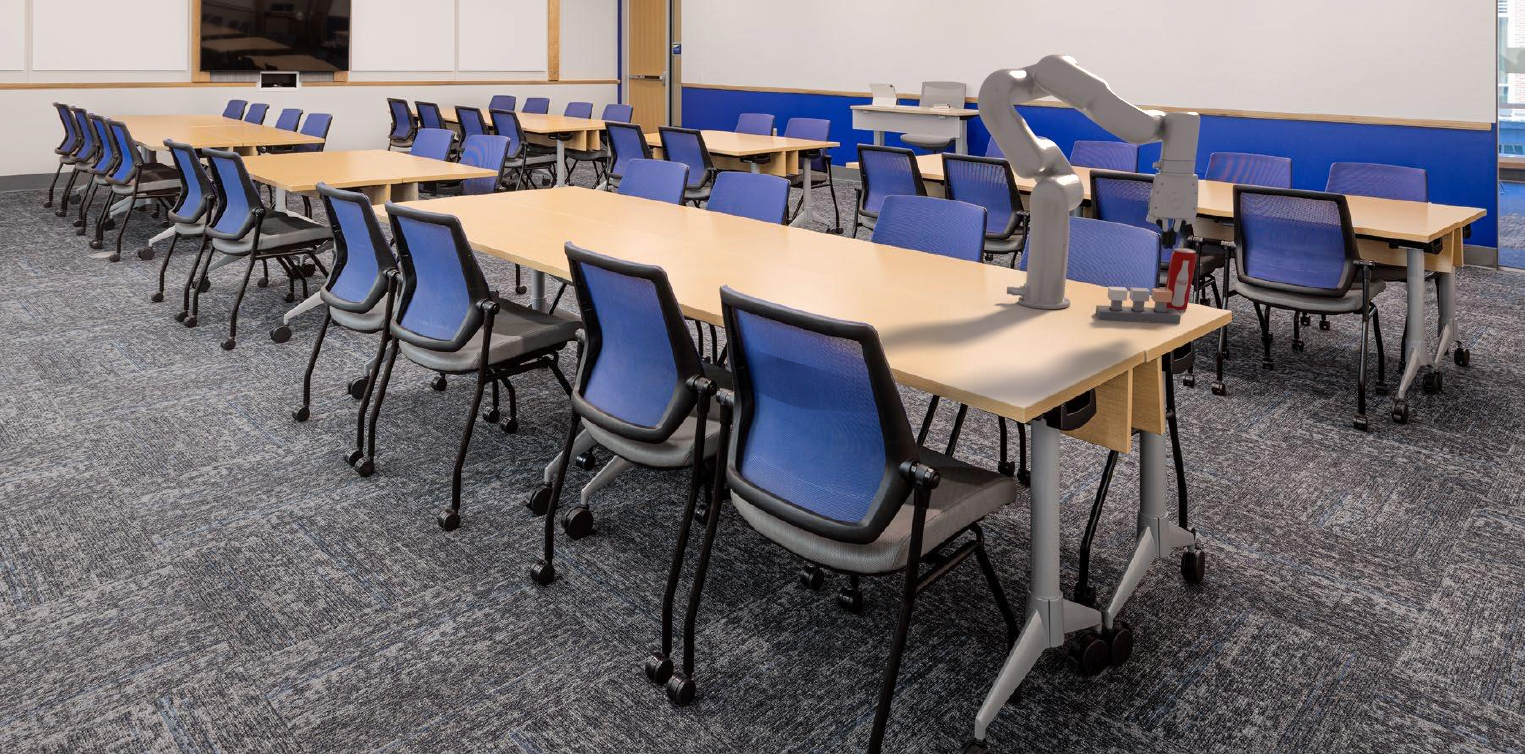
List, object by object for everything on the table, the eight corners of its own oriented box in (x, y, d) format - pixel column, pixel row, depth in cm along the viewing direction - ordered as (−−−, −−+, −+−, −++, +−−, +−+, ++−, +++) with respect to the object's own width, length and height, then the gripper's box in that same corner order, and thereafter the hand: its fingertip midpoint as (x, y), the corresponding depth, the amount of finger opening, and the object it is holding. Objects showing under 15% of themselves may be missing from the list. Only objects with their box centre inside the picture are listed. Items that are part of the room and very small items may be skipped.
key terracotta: (1153, 312, 244) (1155, 291, 242) (1150, 308, 247) (1152, 288, 246) (1170, 312, 243) (1172, 292, 242) (1166, 309, 247) (1169, 288, 245)
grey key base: (1099, 320, 245) (1100, 311, 244) (1095, 313, 251) (1096, 305, 251) (1179, 323, 242) (1180, 315, 241) (1173, 316, 248) (1174, 308, 248)
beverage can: (1166, 305, 260) (1173, 246, 255) (1193, 309, 256) (1200, 249, 251) (1158, 309, 255) (1165, 249, 251) (1185, 313, 251) (1192, 252, 247)
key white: (1108, 310, 245) (1110, 290, 244) (1106, 306, 249) (1108, 286, 247) (1125, 311, 245) (1127, 290, 243) (1122, 307, 248) (1125, 287, 247)
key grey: (1130, 311, 245) (1133, 290, 243) (1128, 307, 248) (1130, 287, 247) (1147, 311, 244) (1150, 291, 242) (1144, 308, 248) (1147, 288, 246)
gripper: (1145, 168, 233) (1136, 249, 239) (1215, 170, 231) (1205, 251, 236) (1139, 165, 240) (1131, 244, 246) (1207, 166, 238) (1197, 246, 243)
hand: (1167, 247), depth 241 cm, fingers closed
